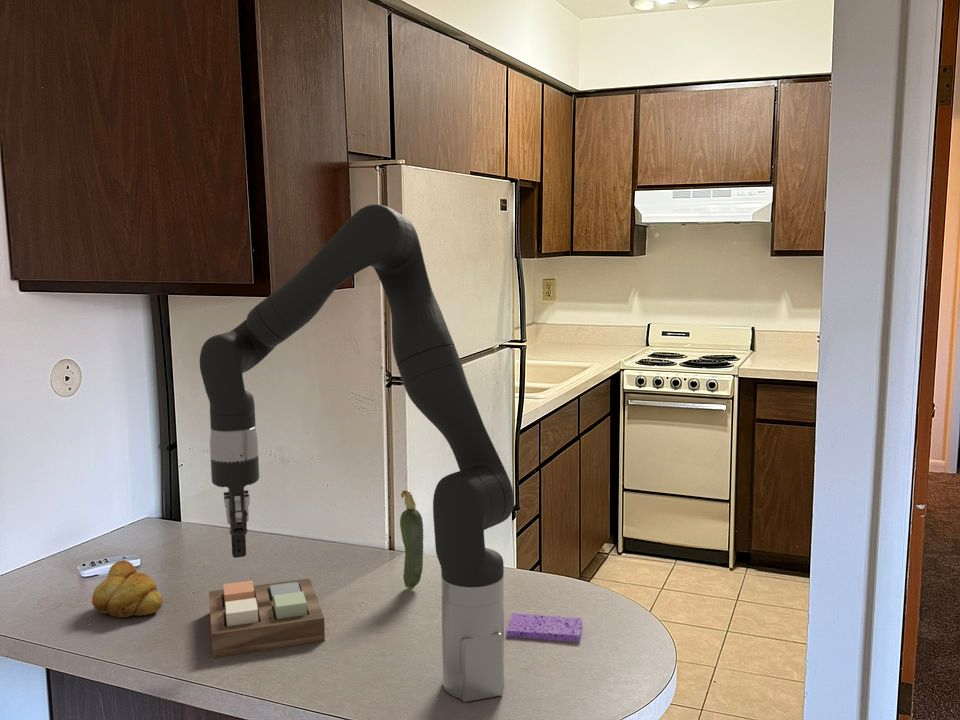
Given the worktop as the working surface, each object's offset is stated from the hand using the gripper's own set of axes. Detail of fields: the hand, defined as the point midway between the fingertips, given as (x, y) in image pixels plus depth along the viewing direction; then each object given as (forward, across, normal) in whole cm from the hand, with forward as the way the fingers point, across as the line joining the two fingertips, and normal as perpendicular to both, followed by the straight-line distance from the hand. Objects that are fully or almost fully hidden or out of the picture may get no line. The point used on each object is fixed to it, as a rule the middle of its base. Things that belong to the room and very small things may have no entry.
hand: (239, 555), depth 142 cm
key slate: (+13, +8, -8) cm, 17 cm away
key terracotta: (+12, +8, 0) cm, 14 cm away
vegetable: (+15, +10, -32) cm, 37 cm away
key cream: (+12, 0, 0) cm, 12 cm away
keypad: (+15, +4, -4) cm, 16 cm away
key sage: (+12, 0, -8) cm, 14 cm away
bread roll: (+15, +19, +19) cm, 31 cm away
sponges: (+15, -14, -49) cm, 53 cm away
